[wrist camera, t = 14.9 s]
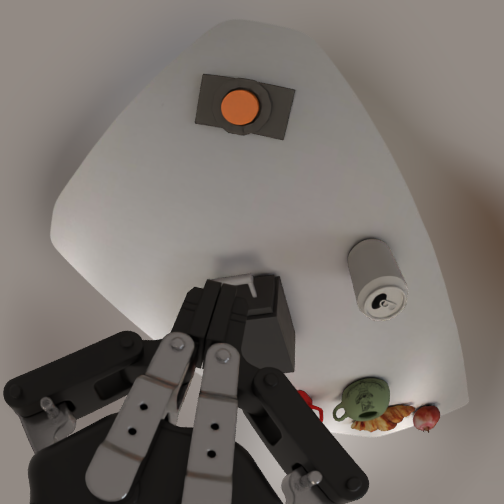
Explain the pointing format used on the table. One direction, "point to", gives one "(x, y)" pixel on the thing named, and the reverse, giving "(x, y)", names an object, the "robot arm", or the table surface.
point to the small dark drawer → (254, 292)
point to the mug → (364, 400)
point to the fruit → (426, 417)
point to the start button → (240, 107)
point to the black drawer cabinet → (271, 336)
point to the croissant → (385, 419)
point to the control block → (269, 97)
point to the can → (377, 280)
